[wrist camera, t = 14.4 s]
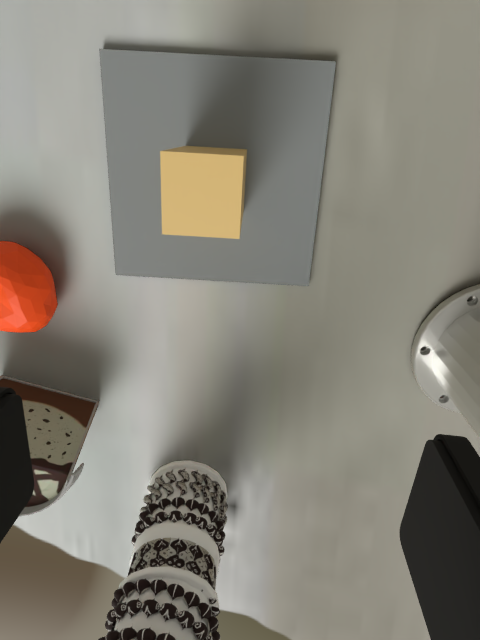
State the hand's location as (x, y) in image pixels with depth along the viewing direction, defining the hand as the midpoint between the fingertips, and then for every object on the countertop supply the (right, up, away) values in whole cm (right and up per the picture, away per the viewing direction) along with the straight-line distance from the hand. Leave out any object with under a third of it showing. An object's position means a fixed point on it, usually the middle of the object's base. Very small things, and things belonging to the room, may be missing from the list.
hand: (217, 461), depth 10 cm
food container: (-19, -6, +32) cm, 38 cm away
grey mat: (-1, +14, +23) cm, 27 cm away
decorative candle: (-5, -15, +36) cm, 39 cm away
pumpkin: (-18, +7, +27) cm, 33 cm away
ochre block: (-1, +14, +22) cm, 26 cm away
